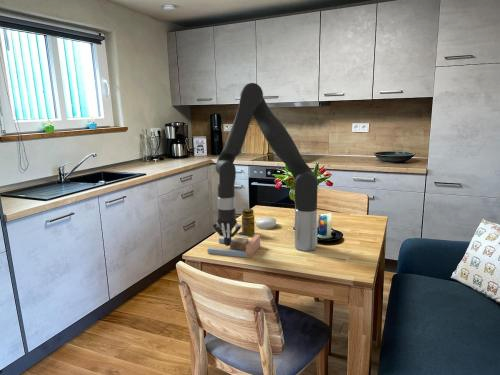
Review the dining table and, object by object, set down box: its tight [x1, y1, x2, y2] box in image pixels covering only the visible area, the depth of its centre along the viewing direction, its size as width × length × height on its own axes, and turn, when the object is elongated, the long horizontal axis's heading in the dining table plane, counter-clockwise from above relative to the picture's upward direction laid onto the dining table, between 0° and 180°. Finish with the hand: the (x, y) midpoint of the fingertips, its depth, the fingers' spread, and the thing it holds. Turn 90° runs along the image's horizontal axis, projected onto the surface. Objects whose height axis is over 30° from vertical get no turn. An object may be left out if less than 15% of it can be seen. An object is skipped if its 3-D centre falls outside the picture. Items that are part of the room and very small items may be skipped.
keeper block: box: [229, 237, 249, 251], centre depth 161 cm, size 6×7×4 cm
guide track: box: [207, 234, 261, 259], centre depth 160 cm, size 19×14×5 cm
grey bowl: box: [255, 216, 277, 230], centre depth 190 cm, size 10×10×3 cm
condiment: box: [236, 208, 258, 238], centre depth 178 cm, size 7×8×12 cm
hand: (227, 245), depth 161 cm, fingers closed
